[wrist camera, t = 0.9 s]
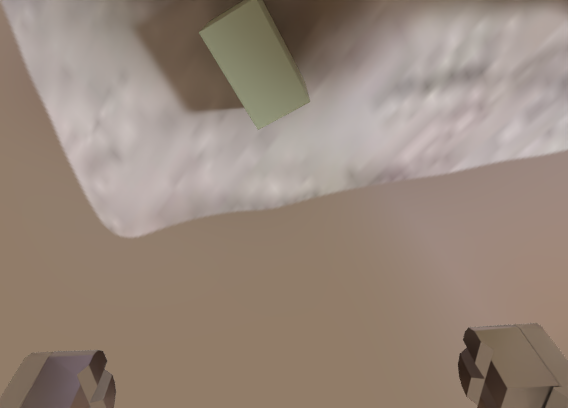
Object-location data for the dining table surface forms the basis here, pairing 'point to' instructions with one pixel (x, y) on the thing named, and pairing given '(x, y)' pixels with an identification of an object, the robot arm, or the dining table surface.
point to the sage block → (256, 62)
